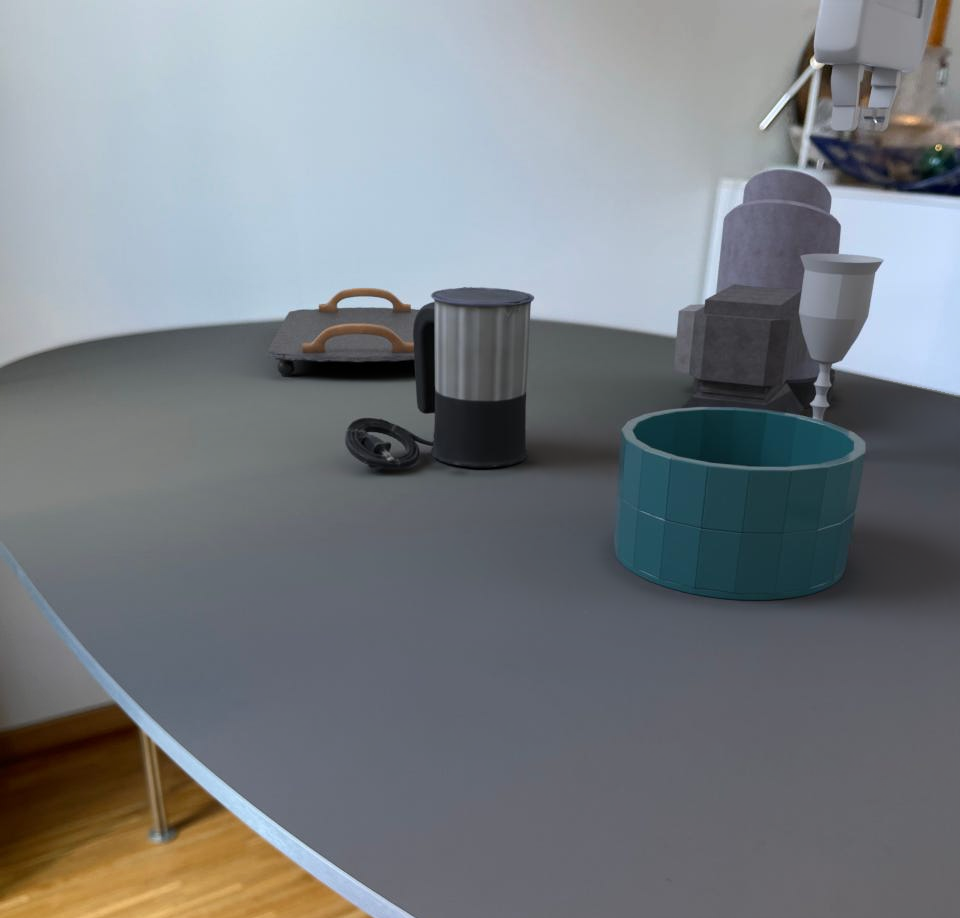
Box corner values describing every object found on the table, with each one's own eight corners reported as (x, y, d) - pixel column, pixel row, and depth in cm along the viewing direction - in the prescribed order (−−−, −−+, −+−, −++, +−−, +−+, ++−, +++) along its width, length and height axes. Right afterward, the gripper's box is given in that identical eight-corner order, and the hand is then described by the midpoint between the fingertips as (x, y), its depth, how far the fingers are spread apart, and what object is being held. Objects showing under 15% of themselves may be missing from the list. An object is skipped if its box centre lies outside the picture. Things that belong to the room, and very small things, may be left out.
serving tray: (291, 326, 163) (288, 284, 161) (442, 326, 165) (441, 284, 162) (262, 382, 129) (258, 329, 126) (454, 381, 130) (454, 329, 128)
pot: (807, 518, 86) (824, 408, 82) (877, 601, 71) (902, 471, 67) (602, 516, 86) (610, 405, 82) (629, 599, 71) (640, 468, 67)
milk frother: (547, 453, 102) (553, 292, 96) (451, 494, 91) (451, 314, 84) (428, 430, 110) (427, 279, 103) (325, 466, 98) (316, 298, 91)
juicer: (713, 371, 137) (735, 163, 127) (842, 384, 131) (877, 167, 121) (645, 424, 113) (666, 171, 102) (799, 443, 107) (838, 177, 96)
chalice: (759, 452, 104) (784, 256, 96) (800, 440, 108) (828, 252, 100) (824, 469, 99) (856, 264, 91) (865, 456, 103) (899, 259, 95)
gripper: (897, -90, 74) (863, 131, 80) (957, -51, 90) (926, 131, 96) (807, -82, 77) (782, 130, 83) (881, -46, 93) (855, 130, 99)
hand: (859, 130), depth 90 cm, fingers open, 8 cm apart
